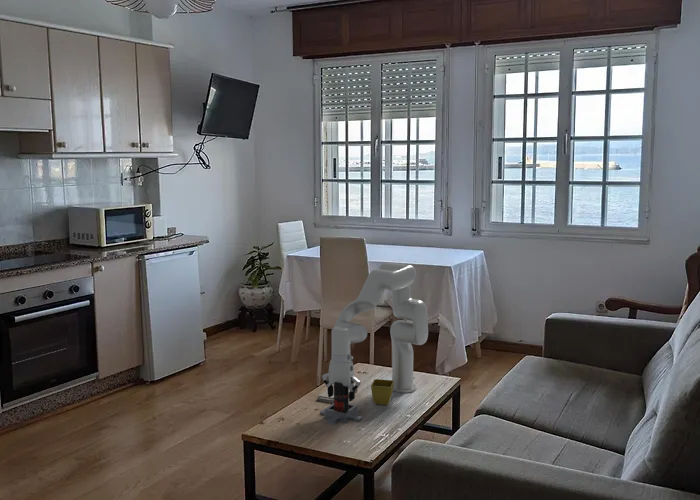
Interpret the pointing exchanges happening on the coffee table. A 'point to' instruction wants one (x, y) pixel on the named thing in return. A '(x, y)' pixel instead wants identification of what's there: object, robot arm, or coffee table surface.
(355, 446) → the coffee table surface
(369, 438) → the coffee table surface
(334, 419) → the tabbed square frame
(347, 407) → the deodorant
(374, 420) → the coffee table surface
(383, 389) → the flower pot
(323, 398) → the washcloth
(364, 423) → the coffee table surface
